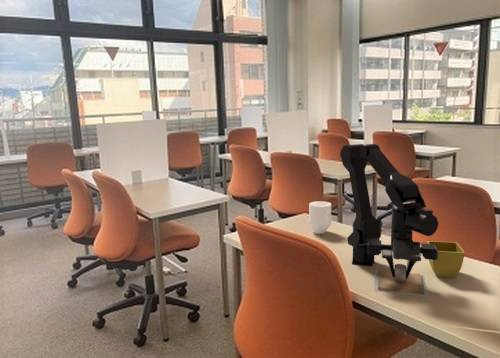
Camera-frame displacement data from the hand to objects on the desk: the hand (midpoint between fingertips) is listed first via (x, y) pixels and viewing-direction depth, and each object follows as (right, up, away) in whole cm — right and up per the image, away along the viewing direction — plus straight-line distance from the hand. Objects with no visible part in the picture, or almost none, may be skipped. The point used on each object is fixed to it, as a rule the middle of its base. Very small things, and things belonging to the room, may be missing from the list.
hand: (399, 277), depth 120 cm
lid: (0, -2, 0) cm, 2 cm away
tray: (0, -2, 0) cm, 2 cm away
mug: (-14, +6, +48) cm, 50 cm away
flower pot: (+15, -1, +6) cm, 17 cm away
